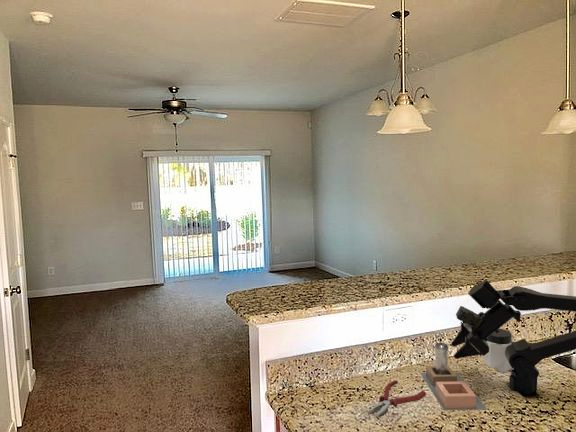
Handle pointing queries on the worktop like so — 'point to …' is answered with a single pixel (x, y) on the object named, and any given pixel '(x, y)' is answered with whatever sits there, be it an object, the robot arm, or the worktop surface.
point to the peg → (441, 358)
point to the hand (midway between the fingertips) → (453, 351)
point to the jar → (498, 350)
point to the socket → (455, 395)
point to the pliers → (393, 400)
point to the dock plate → (450, 377)
